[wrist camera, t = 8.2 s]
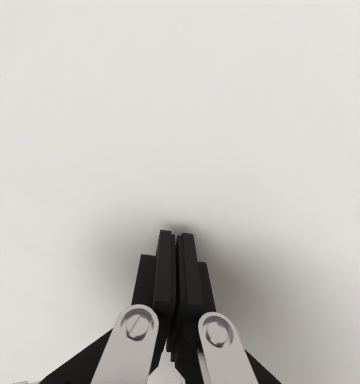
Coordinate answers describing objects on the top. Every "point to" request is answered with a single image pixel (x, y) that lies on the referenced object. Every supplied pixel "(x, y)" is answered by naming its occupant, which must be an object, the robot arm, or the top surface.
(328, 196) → the top surface
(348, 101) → the top surface
